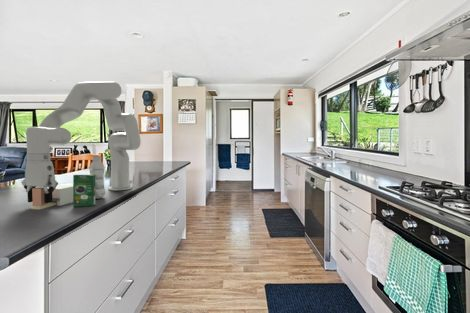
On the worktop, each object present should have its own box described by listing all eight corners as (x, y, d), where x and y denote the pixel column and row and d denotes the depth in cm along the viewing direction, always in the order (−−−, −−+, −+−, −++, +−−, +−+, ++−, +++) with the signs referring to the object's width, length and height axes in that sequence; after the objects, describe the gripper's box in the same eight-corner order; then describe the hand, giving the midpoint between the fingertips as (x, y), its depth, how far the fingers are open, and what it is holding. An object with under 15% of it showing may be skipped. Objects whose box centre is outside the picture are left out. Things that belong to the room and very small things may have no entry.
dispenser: (66, 198, 129) (65, 183, 129) (84, 198, 127) (84, 184, 127) (38, 205, 115) (37, 188, 114) (58, 206, 113) (58, 189, 112)
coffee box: (96, 204, 116) (95, 174, 115) (94, 206, 113) (93, 174, 112) (75, 205, 114) (74, 174, 114) (73, 207, 111) (72, 175, 111)
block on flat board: (67, 199, 127) (67, 182, 126) (76, 199, 126) (75, 182, 125) (30, 208, 108) (29, 188, 108) (39, 209, 107) (38, 189, 107)
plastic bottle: (86, 199, 126) (85, 156, 125) (97, 196, 132) (96, 155, 131) (97, 200, 124) (96, 156, 123) (108, 197, 130) (107, 155, 129)
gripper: (65, 157, 111) (66, 201, 112) (29, 157, 114) (30, 199, 115) (49, 159, 104) (50, 205, 105) (11, 158, 107) (13, 203, 108)
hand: (40, 201), depth 110 cm, fingers open, 7 cm apart
